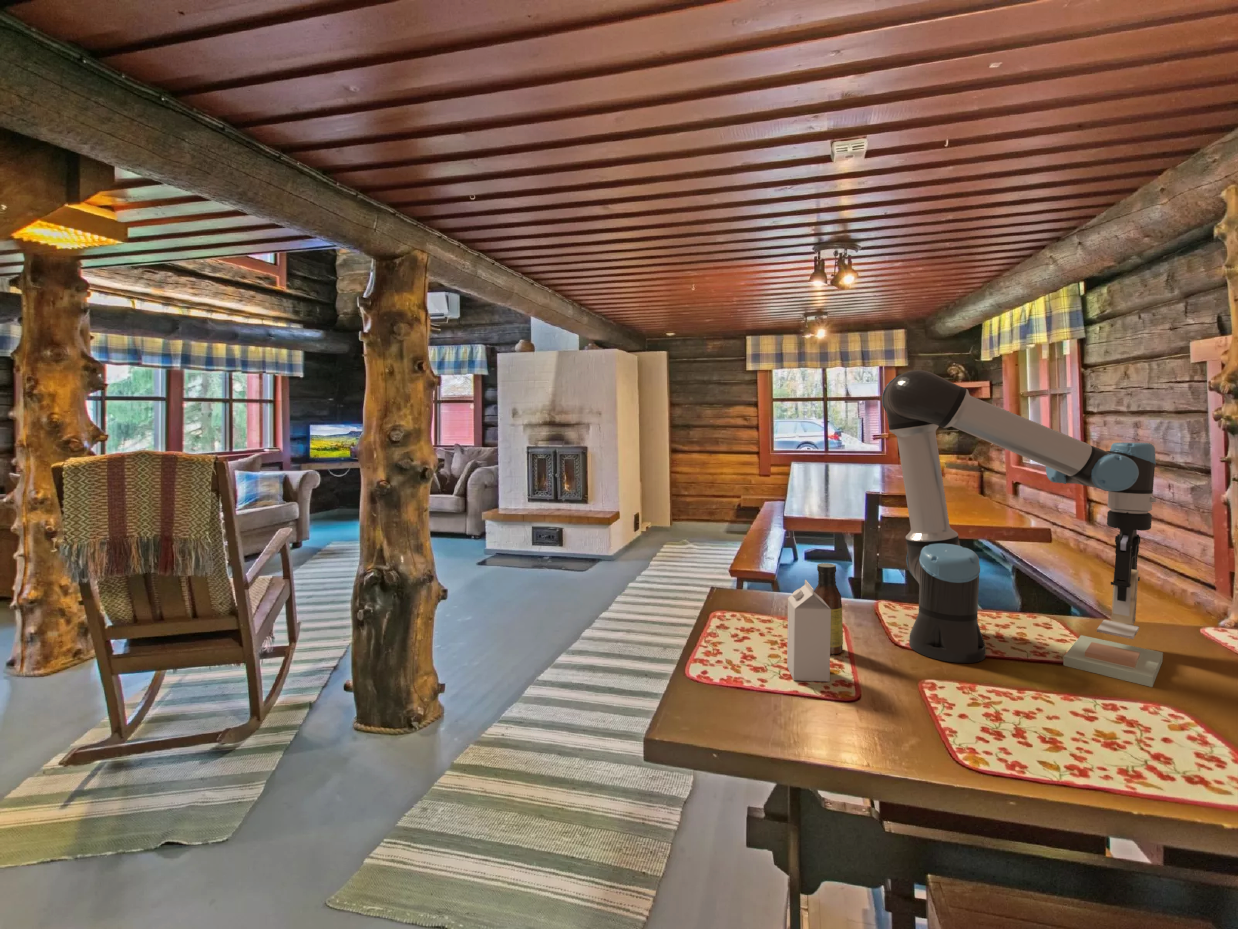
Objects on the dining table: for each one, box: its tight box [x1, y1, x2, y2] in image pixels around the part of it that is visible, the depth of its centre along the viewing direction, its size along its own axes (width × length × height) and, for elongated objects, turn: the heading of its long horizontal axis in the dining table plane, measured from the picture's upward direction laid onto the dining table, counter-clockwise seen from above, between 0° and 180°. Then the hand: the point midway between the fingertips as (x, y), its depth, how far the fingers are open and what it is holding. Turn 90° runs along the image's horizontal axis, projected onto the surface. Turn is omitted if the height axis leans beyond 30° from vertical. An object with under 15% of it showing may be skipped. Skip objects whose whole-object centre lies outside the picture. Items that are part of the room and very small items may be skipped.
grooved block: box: [1063, 634, 1164, 688], centre depth 123 cm, size 18×14×2 cm
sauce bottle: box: [814, 562, 844, 655], centre depth 131 cm, size 7×6×20 cm
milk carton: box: [786, 579, 831, 682], centre depth 119 cm, size 7×7×19 cm
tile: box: [1085, 642, 1140, 669], centre depth 122 cm, size 8×8×1 cm
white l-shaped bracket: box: [1096, 569, 1140, 640], centre depth 128 cm, size 15×6×12 cm, turn 132°
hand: (1123, 610), depth 131 cm, fingers closed on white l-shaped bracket, 6 cm apart
